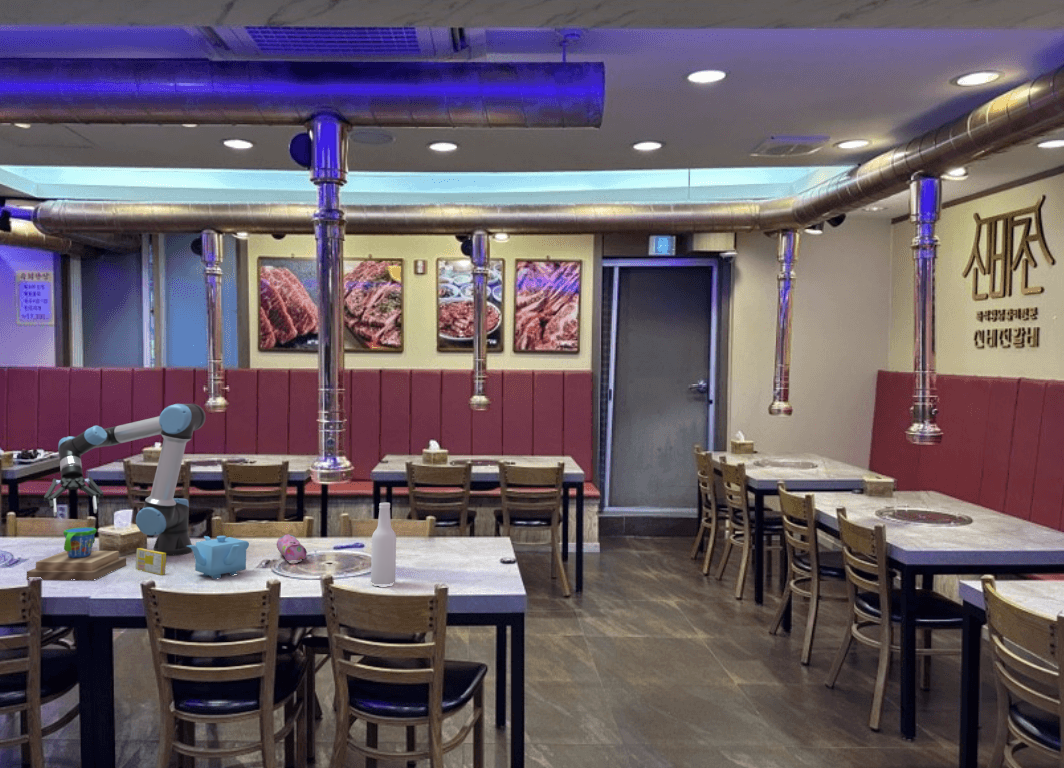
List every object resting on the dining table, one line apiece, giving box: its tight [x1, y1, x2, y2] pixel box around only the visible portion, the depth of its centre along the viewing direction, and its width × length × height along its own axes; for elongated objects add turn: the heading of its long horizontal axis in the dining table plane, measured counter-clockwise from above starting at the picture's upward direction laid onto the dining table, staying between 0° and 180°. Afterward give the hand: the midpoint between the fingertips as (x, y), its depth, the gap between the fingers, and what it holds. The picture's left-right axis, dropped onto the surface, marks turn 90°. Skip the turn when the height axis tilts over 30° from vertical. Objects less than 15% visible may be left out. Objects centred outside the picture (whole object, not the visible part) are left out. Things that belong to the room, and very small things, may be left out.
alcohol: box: [370, 501, 397, 584], centre depth 284 cm, size 9×9×30 cm
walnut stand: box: [26, 550, 127, 581], centre depth 293 cm, size 24×24×6 cm
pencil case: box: [276, 533, 308, 561], centre depth 322 cm, size 21×9×9 cm, turn 27°
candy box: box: [135, 547, 167, 576], centre depth 296 cm, size 16×2×8 cm, turn 59°
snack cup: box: [63, 527, 97, 558], centre depth 293 cm, size 16×10×10 cm
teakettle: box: [187, 535, 250, 580], centre depth 293 cm, size 19×19×15 cm
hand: (75, 512), depth 301 cm, fingers open, 13 cm apart
